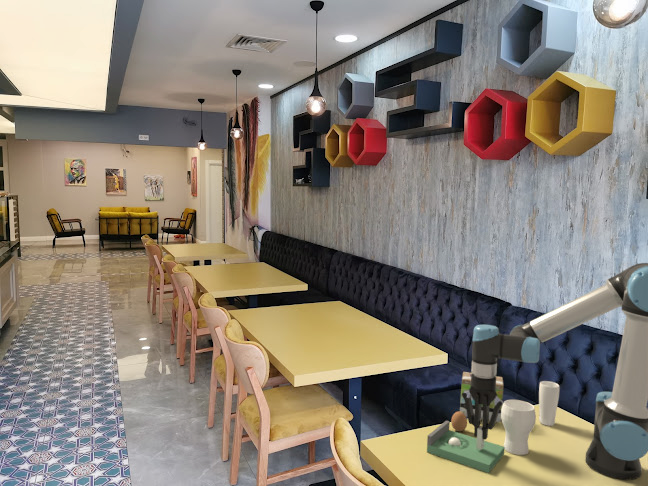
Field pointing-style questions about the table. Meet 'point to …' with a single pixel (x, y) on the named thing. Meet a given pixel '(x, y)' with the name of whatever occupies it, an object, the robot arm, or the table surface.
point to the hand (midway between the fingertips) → (480, 447)
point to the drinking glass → (548, 402)
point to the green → (463, 449)
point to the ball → (454, 442)
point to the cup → (517, 425)
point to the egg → (459, 421)
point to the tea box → (465, 387)
